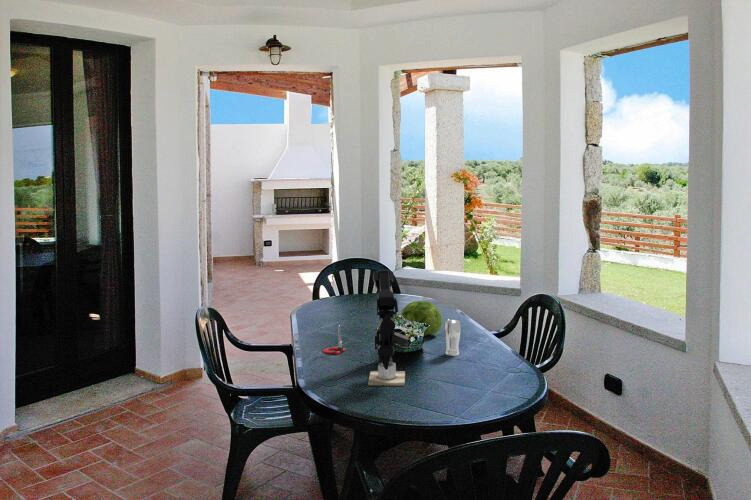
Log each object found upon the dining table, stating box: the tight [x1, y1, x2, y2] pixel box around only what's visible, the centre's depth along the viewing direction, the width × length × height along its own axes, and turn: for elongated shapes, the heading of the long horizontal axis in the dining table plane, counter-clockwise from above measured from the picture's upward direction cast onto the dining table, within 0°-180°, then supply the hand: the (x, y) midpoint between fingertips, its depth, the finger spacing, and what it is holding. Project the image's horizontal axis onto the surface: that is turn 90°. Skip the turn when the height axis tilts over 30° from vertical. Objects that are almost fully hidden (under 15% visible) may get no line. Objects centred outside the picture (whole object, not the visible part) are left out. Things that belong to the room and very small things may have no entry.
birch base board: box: [367, 370, 406, 387], centre depth 241 cm, size 14×14×1 cm
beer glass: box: [444, 319, 461, 357], centre depth 272 cm, size 7×7×15 cm
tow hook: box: [323, 324, 347, 355], centre depth 278 cm, size 8×13×9 cm
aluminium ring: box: [377, 361, 397, 380], centre depth 240 cm, size 7×7×5 cm
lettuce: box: [399, 300, 443, 337], centre depth 305 cm, size 18×23×19 cm
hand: (386, 365), depth 240 cm, fingers open, 9 cm apart
